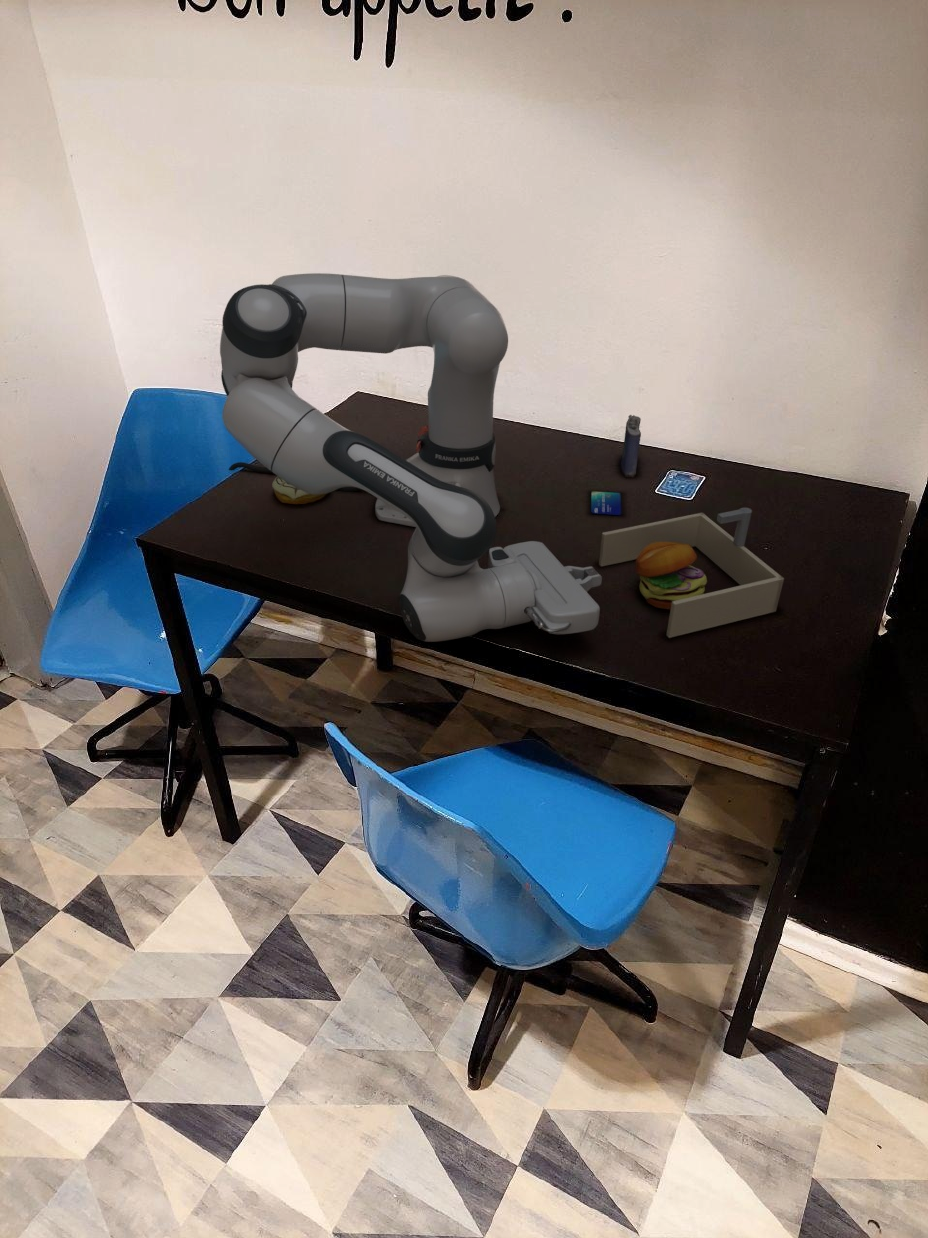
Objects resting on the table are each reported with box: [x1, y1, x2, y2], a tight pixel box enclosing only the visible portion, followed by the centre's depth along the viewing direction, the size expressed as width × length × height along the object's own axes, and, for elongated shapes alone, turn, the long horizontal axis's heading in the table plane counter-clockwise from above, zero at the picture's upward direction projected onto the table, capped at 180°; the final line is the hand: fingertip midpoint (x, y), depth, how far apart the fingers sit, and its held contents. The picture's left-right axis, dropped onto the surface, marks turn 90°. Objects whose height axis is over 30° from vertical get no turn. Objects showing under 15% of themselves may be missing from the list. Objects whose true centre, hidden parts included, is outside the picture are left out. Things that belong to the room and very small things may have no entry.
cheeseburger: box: [634, 542, 708, 611], centre depth 136 cm, size 10×11×10 cm
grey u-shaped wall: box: [598, 507, 785, 639], centre depth 136 cm, size 19×22×12 cm
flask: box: [620, 414, 642, 478], centre depth 171 cm, size 9×3×11 cm, turn 172°
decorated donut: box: [271, 475, 328, 505], centre depth 164 cm, size 10×11×4 cm
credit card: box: [590, 491, 622, 516], centre depth 162 cm, size 8×5×1 cm, turn 173°
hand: (597, 575), depth 132 cm, fingers closed
